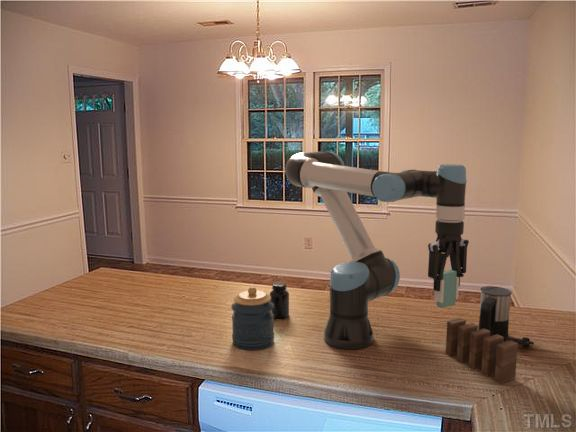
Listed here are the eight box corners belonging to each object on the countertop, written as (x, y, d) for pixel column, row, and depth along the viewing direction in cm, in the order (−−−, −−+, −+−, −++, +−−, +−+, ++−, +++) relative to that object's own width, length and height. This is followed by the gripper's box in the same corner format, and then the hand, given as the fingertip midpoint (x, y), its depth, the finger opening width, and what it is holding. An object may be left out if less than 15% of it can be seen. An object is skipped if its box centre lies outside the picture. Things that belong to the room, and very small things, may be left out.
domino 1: (436, 305, 138) (438, 272, 136) (449, 302, 140) (451, 269, 138) (441, 308, 136) (443, 274, 134) (455, 304, 138) (456, 271, 137)
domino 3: (475, 359, 135) (477, 325, 133) (462, 363, 133) (464, 329, 131) (470, 356, 137) (472, 323, 135) (456, 360, 135) (458, 326, 133)
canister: (227, 337, 151) (225, 283, 148) (265, 330, 156) (264, 278, 153) (239, 354, 139) (238, 296, 136) (280, 346, 144) (280, 290, 141)
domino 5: (501, 372, 128) (503, 337, 126) (487, 376, 125) (489, 340, 124) (495, 369, 129) (497, 334, 128) (481, 373, 127) (483, 338, 125)
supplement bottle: (266, 318, 166) (265, 285, 164) (274, 311, 172) (274, 279, 170) (284, 321, 164) (284, 287, 162) (292, 314, 170) (291, 281, 168)
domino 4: (488, 365, 131) (490, 331, 130) (474, 369, 129) (476, 334, 127) (482, 362, 133) (484, 328, 131) (468, 366, 131) (470, 332, 129)
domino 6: (515, 379, 124) (517, 343, 122) (501, 384, 122) (503, 347, 120) (508, 376, 126) (511, 340, 124) (494, 380, 123) (497, 344, 122)
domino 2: (464, 352, 139) (465, 320, 137) (450, 356, 137) (452, 323, 135) (458, 350, 141) (460, 317, 139) (445, 353, 138) (447, 321, 137)
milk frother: (477, 327, 157) (480, 284, 154) (531, 335, 151) (535, 290, 148) (475, 345, 144) (478, 298, 142) (534, 354, 138) (538, 305, 135)
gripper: (462, 215, 141) (458, 290, 145) (415, 221, 133) (412, 301, 137) (483, 219, 135) (478, 298, 139) (435, 225, 126) (432, 309, 130)
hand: (446, 299), depth 138 cm, fingers closed on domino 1, 5 cm apart
